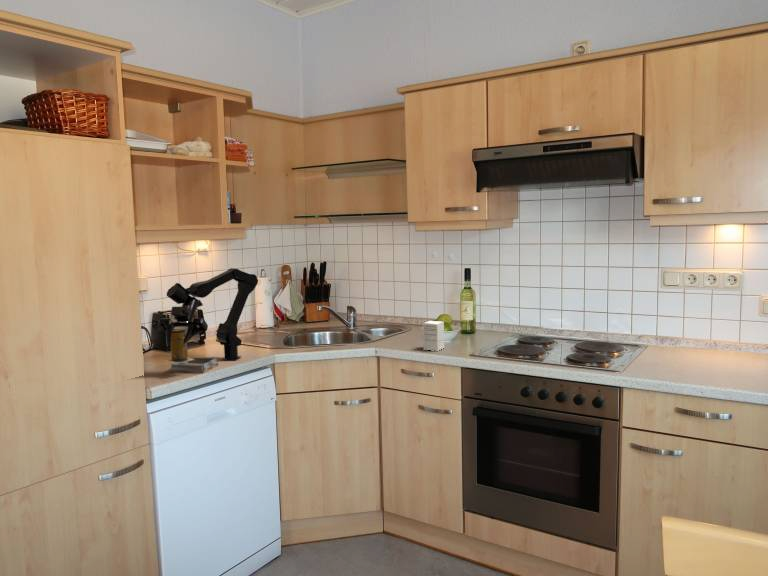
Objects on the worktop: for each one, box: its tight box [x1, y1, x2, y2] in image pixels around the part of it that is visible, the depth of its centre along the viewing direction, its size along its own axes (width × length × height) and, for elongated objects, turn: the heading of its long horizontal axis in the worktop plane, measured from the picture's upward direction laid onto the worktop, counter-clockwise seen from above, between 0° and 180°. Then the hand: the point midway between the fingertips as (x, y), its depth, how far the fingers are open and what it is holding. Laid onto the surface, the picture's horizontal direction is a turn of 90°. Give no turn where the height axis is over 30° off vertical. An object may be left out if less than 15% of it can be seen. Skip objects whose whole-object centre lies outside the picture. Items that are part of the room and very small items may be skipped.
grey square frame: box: [169, 356, 219, 374], centre depth 255 cm, size 14×14×3 cm
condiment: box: [167, 328, 194, 363], centre depth 245 cm, size 7×8×12 cm
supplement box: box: [422, 320, 445, 352], centre depth 281 cm, size 7×7×13 cm
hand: (177, 342), depth 244 cm, fingers closed on condiment, 6 cm apart
